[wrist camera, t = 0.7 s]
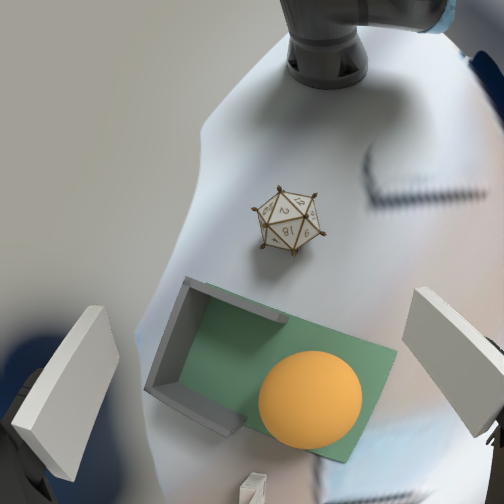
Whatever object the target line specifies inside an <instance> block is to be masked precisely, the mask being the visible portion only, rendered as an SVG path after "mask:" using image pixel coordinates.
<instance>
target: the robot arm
mask: <svg viewBox="0 0 504 504" xmlns="http://www.w3.org/2000/svg"><path fill="white" fill-rule="evenodd" d="M280 3H281V6H282V9H283V13H284V16H285V19H286V23H287V26H288V30H289V33H290V40H289V47H288V53H287V63H288V67H289V71H290V73H291V75H292V76H293V77H294V78H295V79H296V80H297V81H299V82H301V83H302V84H305V85H307V86H310V87H314V88H320V89H338V88H344V87H347V86H350V85H353V84H355V83H357V82H358V81H360V80H361V79H362V78H363V77H364V76H365V75H366V73H367V70H368V57H367V53H366V51H365V49H364V47H363V44H362V42H361V40H360V38H359V36H358V34H357V27H356V26H373V27H383V28H392V29H399V30H406V31H413V32H417V33H431V34H440V33H443V32H444V31H446V30H447V29H448V28H449V26H450V25H451V23H452V21H453V18H454V13H455V11H454V6H455V5H456V0H280ZM402 340H403V342H404V343H405V344H406V345H407V347H408V348H409V349H410V350H411V352H412V353H413V354H414V356H415V357H416V358H417V360H418V361H419V362H420V363H421V365H422V366H423V367H424V369H425V370H426V371H427V373H428V374H429V375H430V377H431V378H432V379H433V381H434V382H435V383H436V385H437V386H438V388H439V389H440V390H441V392H442V393H443V394H444V396H445V397H446V399H447V400H448V401H449V403H450V404H451V406H452V407H453V408H454V410H455V411H456V413H457V414H458V415H459V417H460V418H461V420H462V421H463V423H464V424H465V426H466V427H467V429H468V430H469V431H470V433H471V434H472V436H473V437H474V438H476V437H478V436H479V435H481V434H483V433H485V432H487V431H488V430H489V428H490V427H491V426H492V424H493V423H494V421H495V420H496V421H497V422H498V424H499V425H498V426H497V427H496V429H495V430H494V432H493V433H492V434H491V436H490V437H489V438H488V440H487V442H486V445H488V444H489V443H490V441H491V440H492V439H493V438H494V441H493V443H492V444H491V446H494V449H493V458H492V466H491V473H490V479H489V485H488V490H487V495H486V500H485V504H504V351H503V350H502V349H501V350H500V347H499V346H498V345H496V344H495V343H494V342H493V341H492V340H490V339H489V338H487V337H485V336H483V335H482V334H480V333H479V332H478V331H477V330H476V329H475V328H474V327H473V326H472V325H471V324H470V323H469V322H467V321H466V320H465V319H464V318H463V317H462V316H461V315H460V314H458V313H457V312H456V311H455V310H454V309H453V308H452V307H450V306H449V305H448V304H447V303H446V302H445V301H444V300H442V299H441V298H440V297H439V296H438V295H436V294H435V293H434V292H433V291H432V290H431V289H429V288H428V287H422V288H414V293H413V297H412V302H411V306H410V310H409V314H408V318H407V322H406V326H405V330H404V334H403V337H402ZM119 360H120V358H119V354H118V351H117V348H116V345H115V341H114V338H113V335H112V332H111V328H110V324H109V321H108V317H107V313H106V310H105V306H88V307H87V309H86V310H85V311H84V313H83V314H82V315H81V317H80V318H79V319H78V321H77V322H76V324H75V325H74V326H73V328H72V329H71V330H70V332H69V333H68V335H67V336H66V338H65V339H64V340H63V342H62V343H61V345H60V346H59V347H58V349H57V350H56V352H55V354H54V355H53V356H52V358H51V359H50V361H49V362H48V364H47V365H46V367H45V368H44V369H42V368H39V369H37V370H36V371H35V372H34V373H33V374H31V375H30V376H29V378H28V379H27V380H26V382H25V383H24V385H23V388H21V390H20V391H19V393H18V396H16V398H15V399H14V401H13V403H12V404H11V406H10V407H9V409H8V411H7V412H6V414H5V416H4V417H3V419H2V421H1V422H0V504H58V502H57V500H56V497H55V495H54V493H53V491H52V489H51V486H50V484H49V481H48V479H47V478H46V476H45V475H44V472H45V469H46V467H47V468H48V470H50V472H51V473H52V474H53V475H54V476H56V477H59V478H62V479H65V480H69V481H72V482H74V480H75V477H76V474H77V471H78V468H79V465H80V462H81V459H82V455H83V453H84V450H85V447H86V444H87V441H88V438H89V436H90V433H91V430H92V427H93V425H94V422H95V419H96V417H97V414H98V411H99V409H100V406H101V404H102V401H103V398H104V396H105V393H106V391H107V389H108V386H109V384H110V381H111V379H112V376H113V374H114V372H115V369H116V367H117V364H118V362H119Z"/></svg>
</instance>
